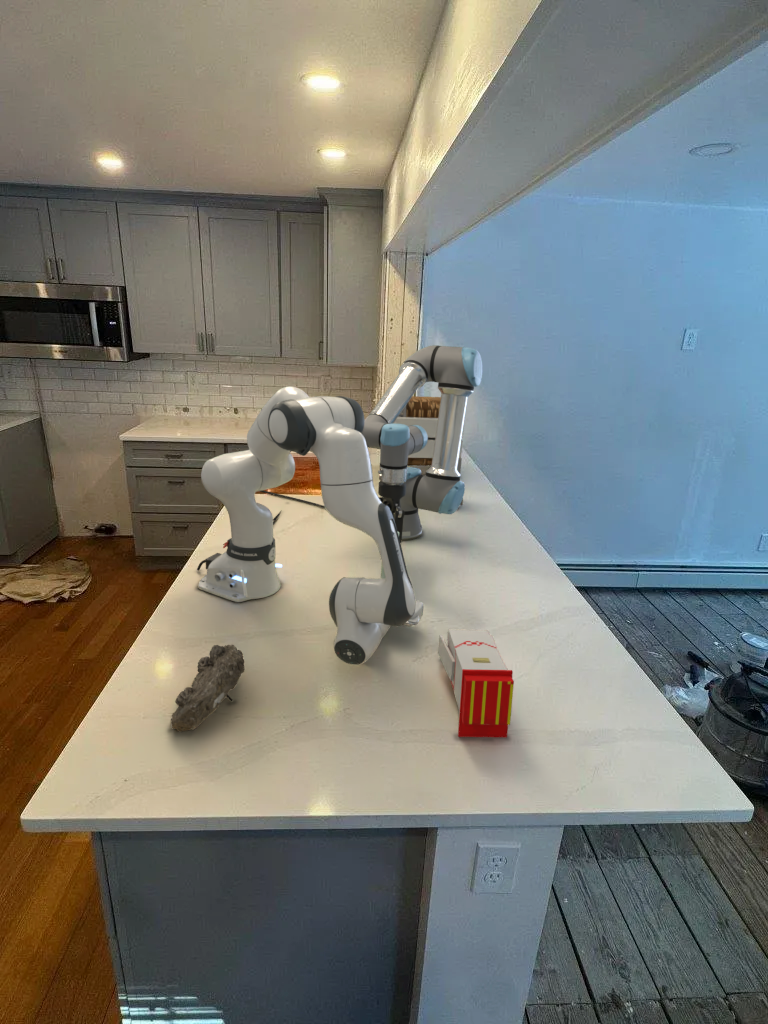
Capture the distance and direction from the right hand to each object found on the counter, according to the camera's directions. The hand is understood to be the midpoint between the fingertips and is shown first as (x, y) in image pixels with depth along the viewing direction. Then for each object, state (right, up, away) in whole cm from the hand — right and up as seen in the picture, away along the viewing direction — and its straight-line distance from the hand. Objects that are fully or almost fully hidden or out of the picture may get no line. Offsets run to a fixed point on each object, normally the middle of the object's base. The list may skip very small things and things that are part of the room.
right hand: (388, 560), depth 162 cm
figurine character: (+27, +17, +70) cm, 77 cm away
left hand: (+1, -7, -16) cm, 17 cm away
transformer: (+16, +33, +113) cm, 119 cm away
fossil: (-35, -24, -49) cm, 65 cm away
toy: (+17, -24, -43) cm, 52 cm away
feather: (-40, +13, +51) cm, 66 cm away
